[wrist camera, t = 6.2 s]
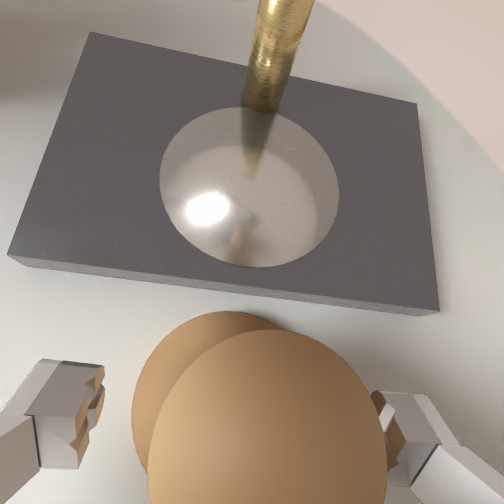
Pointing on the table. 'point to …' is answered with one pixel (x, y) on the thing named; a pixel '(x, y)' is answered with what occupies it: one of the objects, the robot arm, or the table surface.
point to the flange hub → (255, 419)
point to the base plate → (231, 185)
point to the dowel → (274, 51)
